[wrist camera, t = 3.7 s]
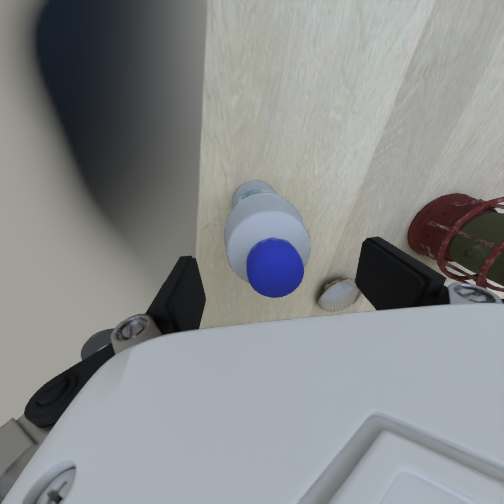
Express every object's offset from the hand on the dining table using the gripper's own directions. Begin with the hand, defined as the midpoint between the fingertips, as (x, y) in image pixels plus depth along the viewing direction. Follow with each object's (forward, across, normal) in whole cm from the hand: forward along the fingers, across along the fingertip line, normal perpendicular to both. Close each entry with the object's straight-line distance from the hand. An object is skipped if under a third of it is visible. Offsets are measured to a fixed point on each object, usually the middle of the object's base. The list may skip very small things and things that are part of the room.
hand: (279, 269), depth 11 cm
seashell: (+19, -14, +18) cm, 30 cm away
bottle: (+19, 0, 0) cm, 19 cm away
